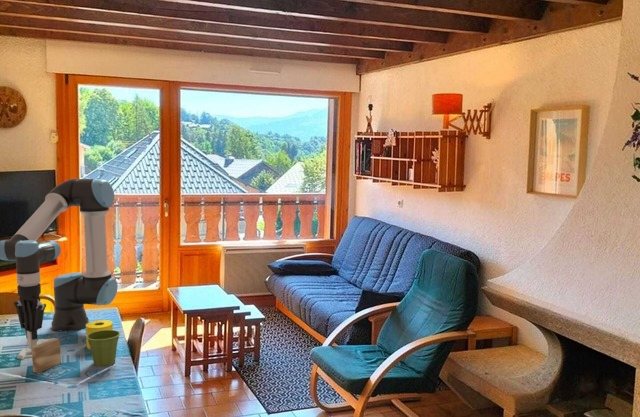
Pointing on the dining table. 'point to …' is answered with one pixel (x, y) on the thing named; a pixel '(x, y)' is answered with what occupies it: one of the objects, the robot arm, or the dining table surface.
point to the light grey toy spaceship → (29, 350)
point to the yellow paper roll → (98, 327)
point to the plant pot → (103, 346)
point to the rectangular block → (46, 355)
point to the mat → (36, 378)
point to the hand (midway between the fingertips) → (32, 347)
